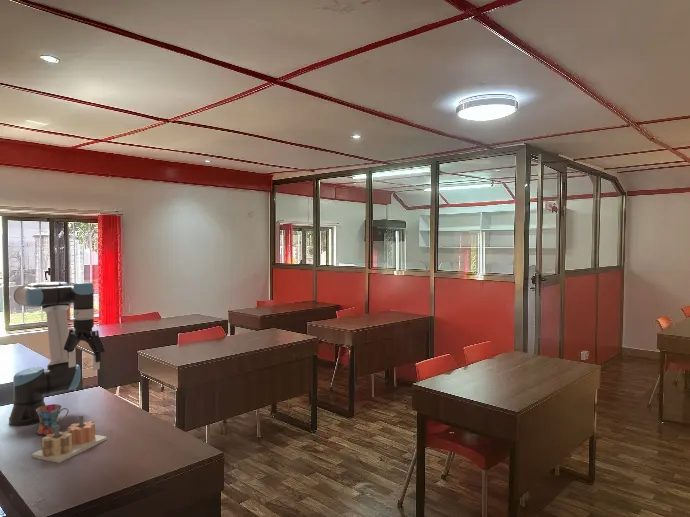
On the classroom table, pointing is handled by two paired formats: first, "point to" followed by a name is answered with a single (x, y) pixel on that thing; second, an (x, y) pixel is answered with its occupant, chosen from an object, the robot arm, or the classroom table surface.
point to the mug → (49, 418)
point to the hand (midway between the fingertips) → (84, 368)
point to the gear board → (75, 440)
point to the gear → (56, 444)
